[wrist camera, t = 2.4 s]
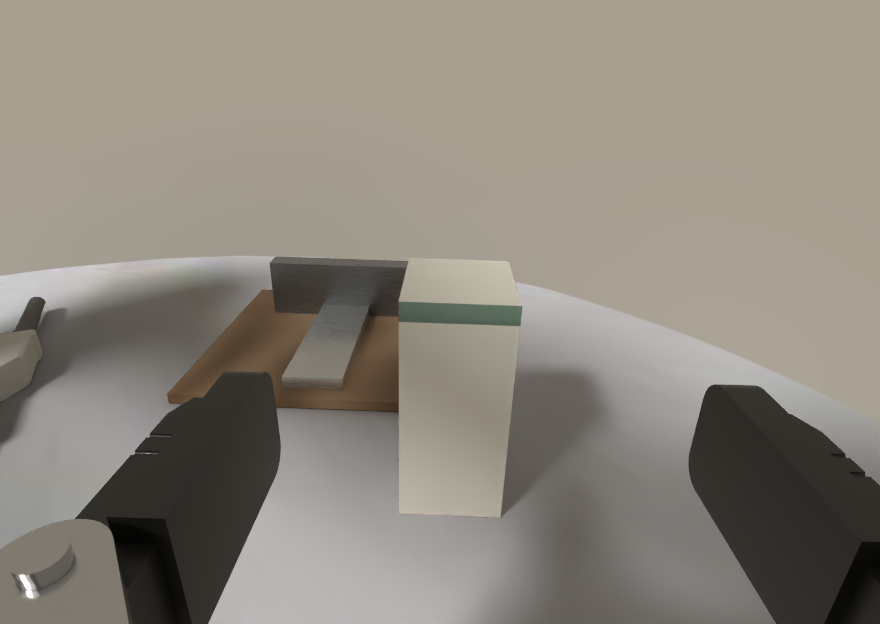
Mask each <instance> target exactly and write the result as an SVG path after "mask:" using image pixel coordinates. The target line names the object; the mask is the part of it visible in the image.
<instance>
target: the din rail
mask: <svg viewBox="0 0 880 624" xmlns="http://www.w3.org/2000/svg"><path fill="white" fill-rule="evenodd" d="M369 316H370V315H369V306H345V305H323V306H322V308H321V310H320V311H319V313H318V315H317V316H316V318H315V320H314V322H313V323H312V325H311V327H310V329H309V330H308V332H307V334H306V335H305V337H304V339H303V341H302V342H301V344H300V346H299V348H298V349H297V351H296V353H295V355H294V356H293V358H292V360H291V361H290V363H289V365H288V367H287V368H286V370H285V372H284V374H283V375H282V384H283V389H309V390H336V391H343V390H344V387H345V384H346V381H347V378H348V376H349V373H350V370H351V367H352V364H353V361H354V359H355V356H356V353H357V350H358V347H359V344H360V342H361V339H362V336H363V333H364V330H365V327H366V325H367V322H368V319H369Z"/></svg>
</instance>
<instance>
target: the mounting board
mask: <svg viewBox="0 0 880 624" xmlns="http://www.w3.org/2000/svg"><path fill="white" fill-rule="evenodd" d="M317 315H318V314H302V313H275V306H274V297H273V290H262V291H261V292H260V293H259V294H258V295H257V296H256V297H255V298H254V300H253V301H252V302H251V303H250V304H249V305H248V306H247V307H246V308H245V309H244V310H243V312H242V313H241V314H240V315H239V316H238V317H237V318H236V319H235V320H234V321H233V323H232V324H231V325H230V326H229V327H228V328H227V329H226V330H225V331H224V332H223V333H222V335H221V336H220V337H219V338H218V339H217V340H216V341H215V342H214V343H213V344H212V345H211V347H210V348H209V349H208V350H207V351H206V352H205V353H204V354H203V355H202V356H201V358H200V359H199V360H198V361H197V362H196V363H195V364H194V365H193V366H192V367H191V368H190V370H189V371H188V372H187V373H186V374H185V375H184V376H183V377H182V378H181V379H180V381H179V382H178V383H177V384H176V385H175V386H174V387H173V388H172V389H171V390H170V391H169V393H168V394H167V395H168V400H169V403H185V402H187V401H189V400H190V399H192V398H193V397H198V398H203V397H204V396H205V394H206V393H207V392H208V391H209V389H210V388H211V387H212V386H213V385H214V383H215V382H216V381H217V380H218V378H219V377H220V376H221V375H222V374H223V373H224V372H226V371H241V372H267V373H269V374H270V376H271V378H272V382H273V388H274V396H275V404H276V407H290V408H316V409H343V410H370V411H396V412H399V317H385V316H369V319H368V322H367V325H366V327H365V330H364V333H363V336H362V339H361V342H360V344H359V347H358V350H357V353H356V356H355V359H354V361H353V364H352V367H351V370H350V373H349V376H348V378H347V381H346V384H345V387H344V390H343V391H336V390H309V389H283V384H282V375H283V374H284V372H285V370H286V368H287V367H288V365H289V363H290V361H291V360H292V358H293V356H294V355H295V353H296V351H297V349H298V348H299V346H300V344H301V342H302V341H303V339H304V337H305V335H306V334H307V332H308V330H309V329H310V327H311V325H312V323H313V322H314V320H315V318H316V316H317Z"/></svg>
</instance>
